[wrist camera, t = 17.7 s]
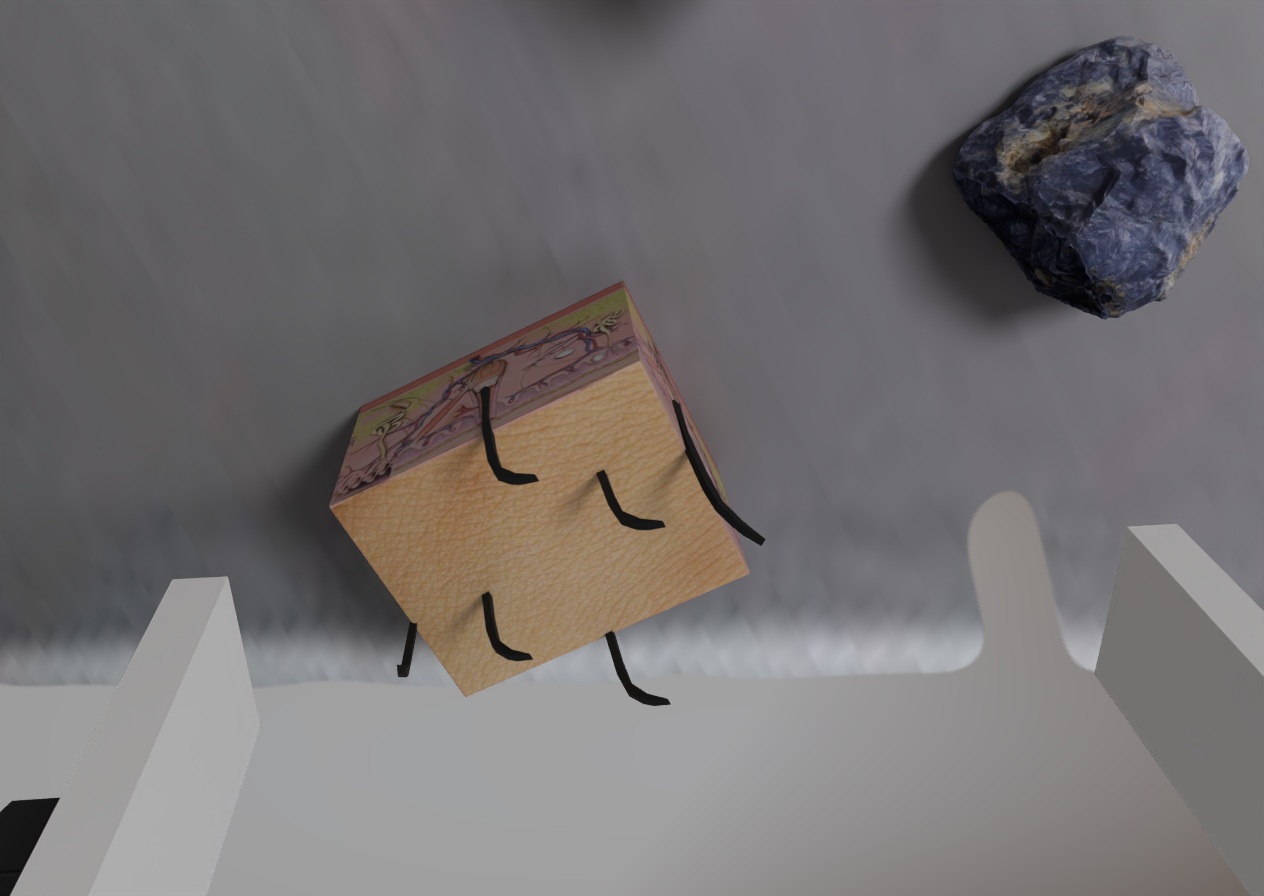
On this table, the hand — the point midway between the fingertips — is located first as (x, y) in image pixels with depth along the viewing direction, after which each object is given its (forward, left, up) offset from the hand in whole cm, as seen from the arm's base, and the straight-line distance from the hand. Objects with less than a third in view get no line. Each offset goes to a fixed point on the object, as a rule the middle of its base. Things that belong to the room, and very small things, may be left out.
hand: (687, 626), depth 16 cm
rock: (+22, -2, -35) cm, 41 cm away
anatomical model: (-2, -14, -35) cm, 38 cm away
